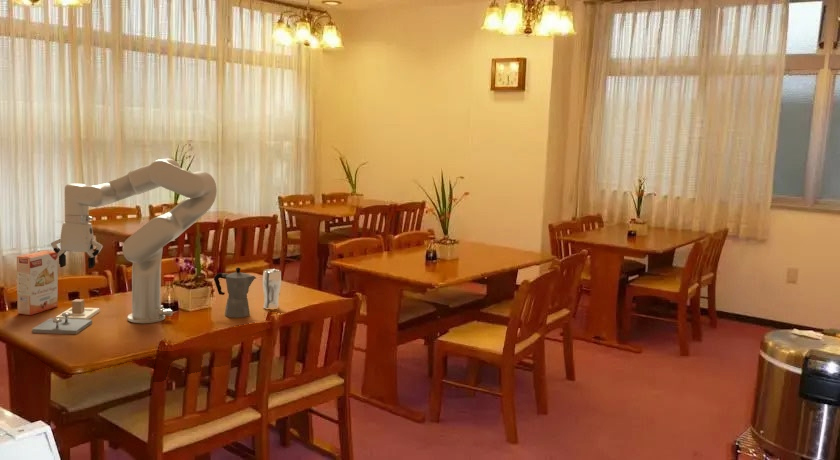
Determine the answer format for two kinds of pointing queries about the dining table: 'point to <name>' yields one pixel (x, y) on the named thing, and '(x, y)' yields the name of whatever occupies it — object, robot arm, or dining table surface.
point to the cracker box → (37, 282)
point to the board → (62, 326)
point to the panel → (81, 316)
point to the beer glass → (271, 287)
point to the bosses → (61, 319)
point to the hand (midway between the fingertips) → (77, 267)
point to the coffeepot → (236, 292)
